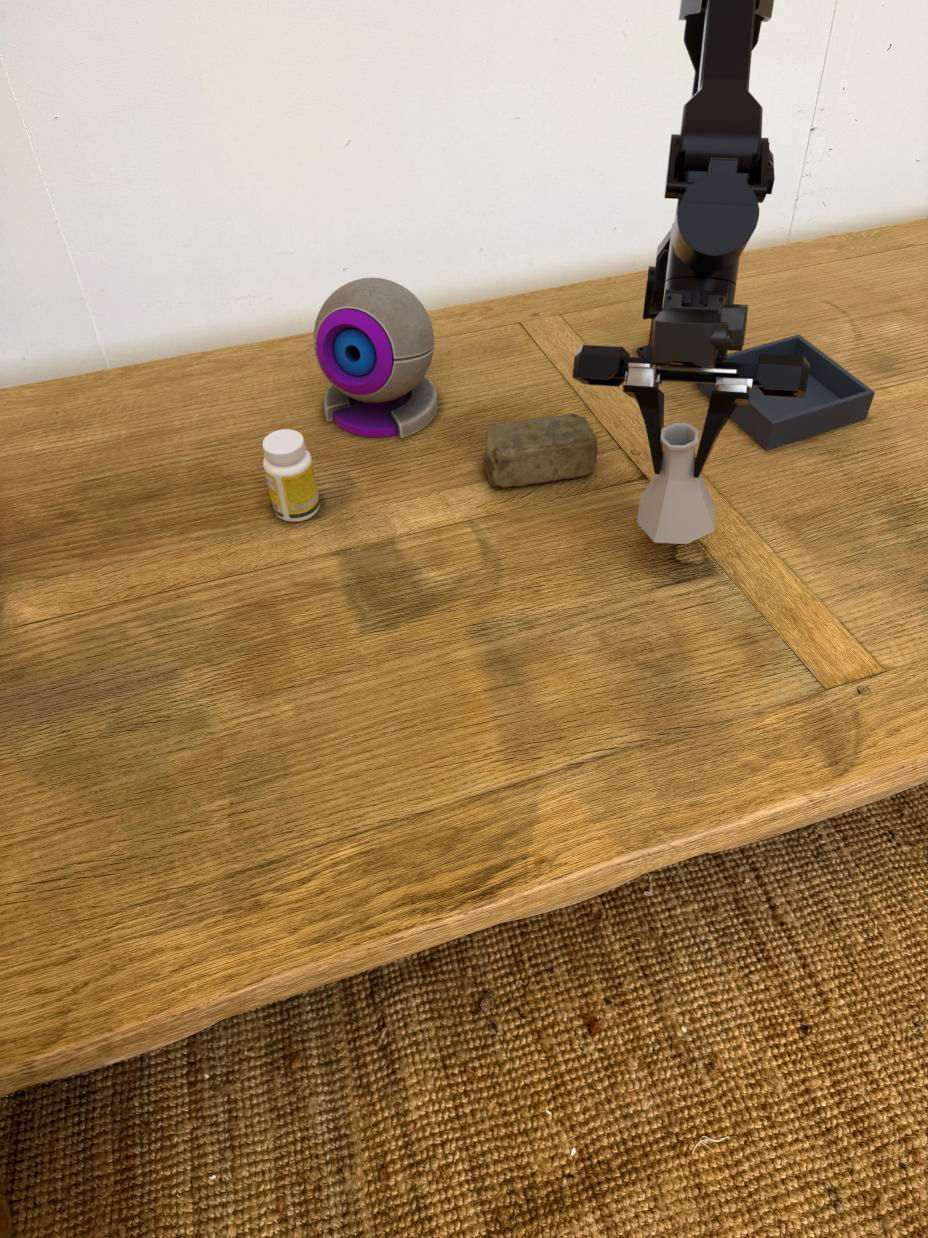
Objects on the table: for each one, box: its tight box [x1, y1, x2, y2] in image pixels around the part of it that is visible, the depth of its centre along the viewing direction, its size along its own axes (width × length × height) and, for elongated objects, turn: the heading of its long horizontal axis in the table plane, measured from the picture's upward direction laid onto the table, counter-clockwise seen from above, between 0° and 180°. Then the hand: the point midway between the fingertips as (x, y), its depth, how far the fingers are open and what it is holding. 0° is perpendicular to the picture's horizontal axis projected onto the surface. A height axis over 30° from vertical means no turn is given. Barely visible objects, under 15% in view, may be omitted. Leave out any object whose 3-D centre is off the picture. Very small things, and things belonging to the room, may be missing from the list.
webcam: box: [313, 277, 439, 439], centre depth 102 cm, size 13×13×15 cm
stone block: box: [482, 413, 598, 488], centre depth 97 cm, size 6×12×5 cm, turn 102°
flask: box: [636, 421, 717, 545], centre depth 82 cm, size 7×7×10 cm
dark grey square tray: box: [697, 333, 876, 452], centre depth 105 cm, size 13×13×4 cm
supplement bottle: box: [262, 428, 321, 523], centre depth 93 cm, size 5×5×8 cm
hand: (676, 475), depth 80 cm, fingers closed on flask, 3 cm apart
